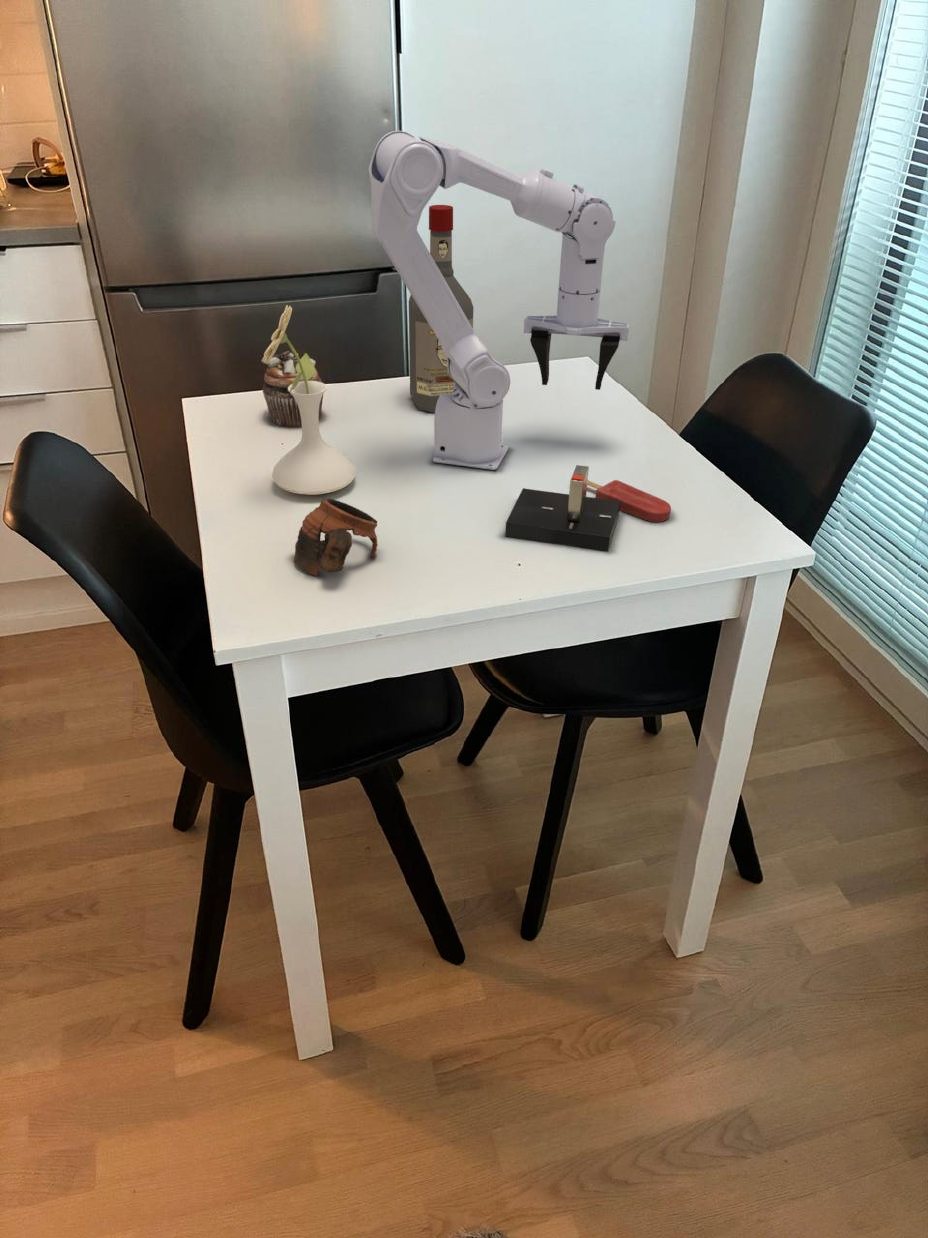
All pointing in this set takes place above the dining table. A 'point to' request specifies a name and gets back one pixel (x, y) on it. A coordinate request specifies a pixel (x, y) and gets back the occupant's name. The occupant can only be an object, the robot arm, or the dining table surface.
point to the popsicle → (634, 500)
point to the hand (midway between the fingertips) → (571, 384)
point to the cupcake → (284, 389)
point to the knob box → (562, 520)
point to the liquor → (423, 344)
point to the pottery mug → (331, 535)
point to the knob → (577, 493)
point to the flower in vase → (308, 433)
